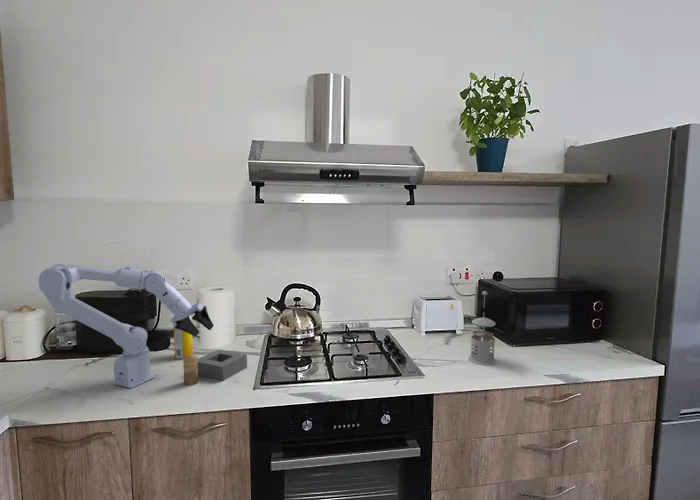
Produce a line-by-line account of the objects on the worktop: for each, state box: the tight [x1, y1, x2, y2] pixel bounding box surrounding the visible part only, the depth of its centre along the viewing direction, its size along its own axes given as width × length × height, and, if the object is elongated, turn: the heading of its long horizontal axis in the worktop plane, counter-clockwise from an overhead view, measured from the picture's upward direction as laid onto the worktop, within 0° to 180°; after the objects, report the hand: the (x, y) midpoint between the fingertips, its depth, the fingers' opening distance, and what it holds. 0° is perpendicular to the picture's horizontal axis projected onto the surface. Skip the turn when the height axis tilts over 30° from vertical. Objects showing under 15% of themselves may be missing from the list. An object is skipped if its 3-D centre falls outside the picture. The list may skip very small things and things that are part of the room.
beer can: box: [173, 315, 194, 360], centre depth 147 cm, size 6×6×15 cm
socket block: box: [197, 349, 248, 382], centre depth 135 cm, size 12×12×4 cm
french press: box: [467, 290, 497, 366], centre depth 145 cm, size 10×12×25 cm
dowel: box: [182, 354, 199, 386], centre depth 125 cm, size 4×4×8 cm
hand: (204, 331), depth 135 cm, fingers open, 7 cm apart
